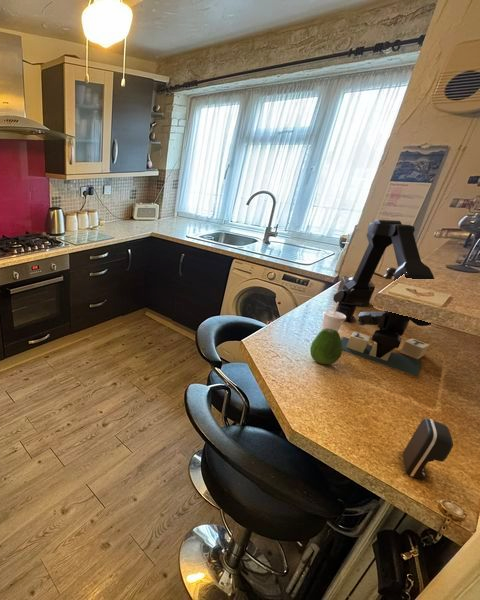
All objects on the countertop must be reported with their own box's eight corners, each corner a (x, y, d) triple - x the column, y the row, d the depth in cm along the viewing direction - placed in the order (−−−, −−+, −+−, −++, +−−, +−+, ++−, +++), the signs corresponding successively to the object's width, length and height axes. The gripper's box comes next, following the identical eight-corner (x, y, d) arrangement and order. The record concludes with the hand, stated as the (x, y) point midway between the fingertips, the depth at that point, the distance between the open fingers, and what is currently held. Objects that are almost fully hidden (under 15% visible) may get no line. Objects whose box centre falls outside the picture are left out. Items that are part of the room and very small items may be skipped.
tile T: (405, 349, 108) (411, 337, 106) (423, 356, 104) (429, 344, 102) (399, 353, 106) (405, 341, 104) (416, 360, 102) (423, 347, 100)
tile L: (349, 342, 111) (354, 331, 109) (365, 347, 108) (370, 336, 106) (346, 347, 108) (350, 335, 106) (362, 353, 105) (368, 340, 103)
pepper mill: (338, 302, 141) (352, 263, 133) (335, 294, 150) (348, 257, 142) (383, 310, 134) (401, 270, 126) (378, 301, 142) (394, 262, 135)
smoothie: (330, 334, 117) (343, 299, 111) (341, 343, 111) (355, 307, 105) (311, 333, 117) (323, 298, 112) (321, 342, 112) (335, 306, 106)
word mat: (343, 337, 115) (343, 336, 114) (420, 362, 101) (421, 361, 101) (335, 349, 108) (335, 348, 108) (416, 377, 94) (417, 376, 94)
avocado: (303, 353, 106) (314, 321, 101) (331, 358, 103) (344, 326, 98) (309, 367, 99) (321, 334, 94) (340, 372, 96) (354, 338, 91)
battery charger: (430, 486, 64) (459, 445, 59) (404, 475, 66) (430, 435, 61) (425, 461, 69) (451, 422, 64) (401, 452, 71) (424, 413, 66)
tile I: (371, 349, 107) (376, 337, 105) (389, 355, 104) (395, 343, 102) (368, 354, 104) (374, 342, 102) (387, 361, 101) (392, 348, 99)
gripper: (371, 294, 108) (355, 333, 115) (359, 310, 97) (342, 353, 103) (417, 304, 101) (396, 346, 107) (410, 324, 89) (387, 369, 96)
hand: (379, 353), depth 104 cm, fingers open, 7 cm apart
